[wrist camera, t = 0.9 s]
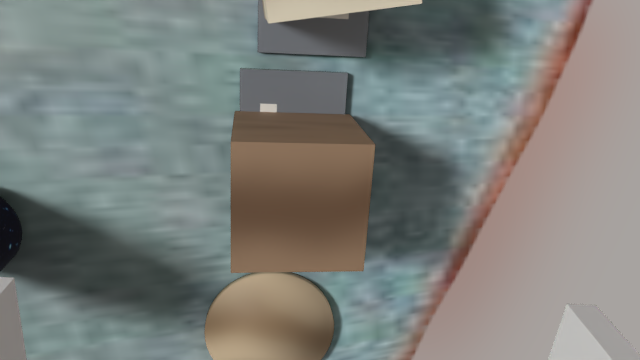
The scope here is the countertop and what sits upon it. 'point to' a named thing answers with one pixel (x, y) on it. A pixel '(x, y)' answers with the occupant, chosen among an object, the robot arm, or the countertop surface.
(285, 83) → the tile
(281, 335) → the cork coaster
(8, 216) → the beverage can
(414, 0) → the birch block
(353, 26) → the code tile
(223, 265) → the countertop surface
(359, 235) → the walnut block
